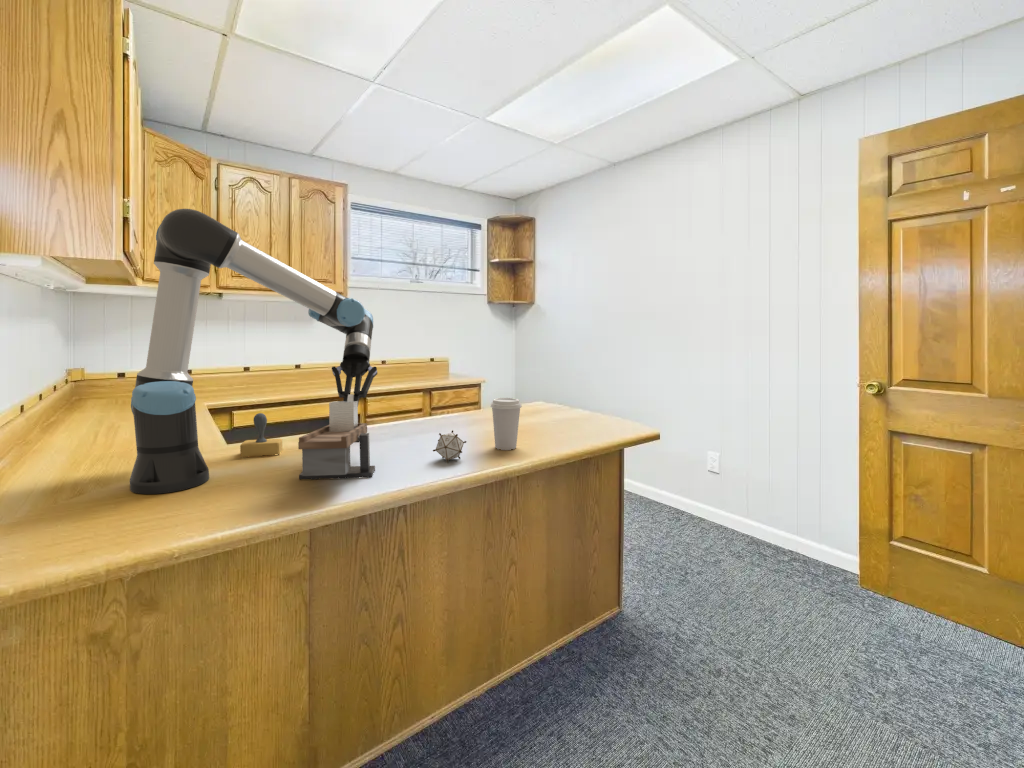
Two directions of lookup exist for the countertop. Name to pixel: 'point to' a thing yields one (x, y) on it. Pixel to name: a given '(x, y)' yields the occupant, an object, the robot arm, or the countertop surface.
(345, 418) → the light grey block
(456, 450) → the game die
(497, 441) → the coffee cup
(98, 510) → the countertop surface
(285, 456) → the countertop surface
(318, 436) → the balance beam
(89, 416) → the countertop surface
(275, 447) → the rubber stamp
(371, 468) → the pivot stand
